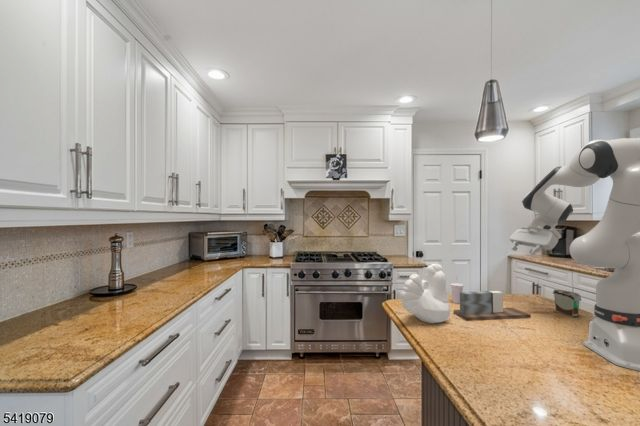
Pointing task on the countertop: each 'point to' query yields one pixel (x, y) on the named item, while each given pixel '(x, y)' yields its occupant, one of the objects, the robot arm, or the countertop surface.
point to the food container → (567, 302)
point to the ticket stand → (484, 308)
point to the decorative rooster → (427, 295)
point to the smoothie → (456, 291)
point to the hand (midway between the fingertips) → (522, 251)
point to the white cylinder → (497, 301)
